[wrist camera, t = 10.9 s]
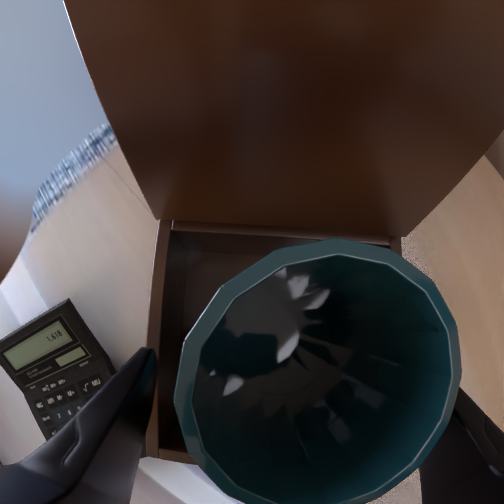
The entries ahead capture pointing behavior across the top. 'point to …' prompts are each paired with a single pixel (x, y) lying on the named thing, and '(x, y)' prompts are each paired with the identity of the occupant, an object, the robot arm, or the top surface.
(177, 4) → the lid
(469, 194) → the top surface
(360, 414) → the teal drinking tumbler
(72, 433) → the robot arm
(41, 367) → the calculator
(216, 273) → the brown wooden square box
